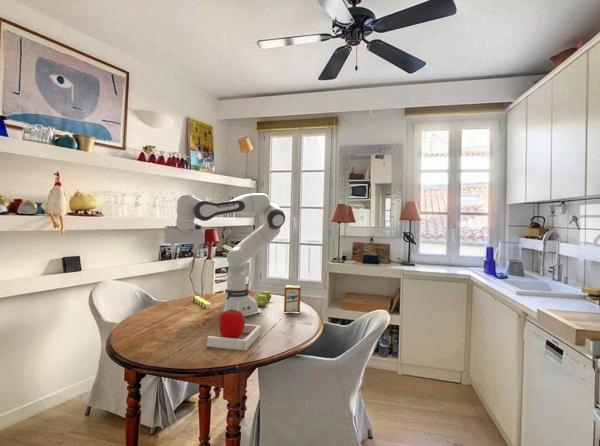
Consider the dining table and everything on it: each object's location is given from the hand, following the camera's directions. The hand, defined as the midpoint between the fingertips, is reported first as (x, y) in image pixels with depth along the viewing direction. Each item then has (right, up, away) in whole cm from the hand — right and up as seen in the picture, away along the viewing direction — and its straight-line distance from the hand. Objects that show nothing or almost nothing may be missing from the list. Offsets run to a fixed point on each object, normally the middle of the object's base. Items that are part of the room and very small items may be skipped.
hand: (184, 252), depth 173 cm
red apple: (+29, -38, -21) cm, 53 cm away
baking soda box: (+56, -39, +29) cm, 74 cm away
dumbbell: (+36, -39, +47) cm, 71 cm away
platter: (-4, -38, +38) cm, 54 cm away
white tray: (+30, -38, -21) cm, 53 cm away
